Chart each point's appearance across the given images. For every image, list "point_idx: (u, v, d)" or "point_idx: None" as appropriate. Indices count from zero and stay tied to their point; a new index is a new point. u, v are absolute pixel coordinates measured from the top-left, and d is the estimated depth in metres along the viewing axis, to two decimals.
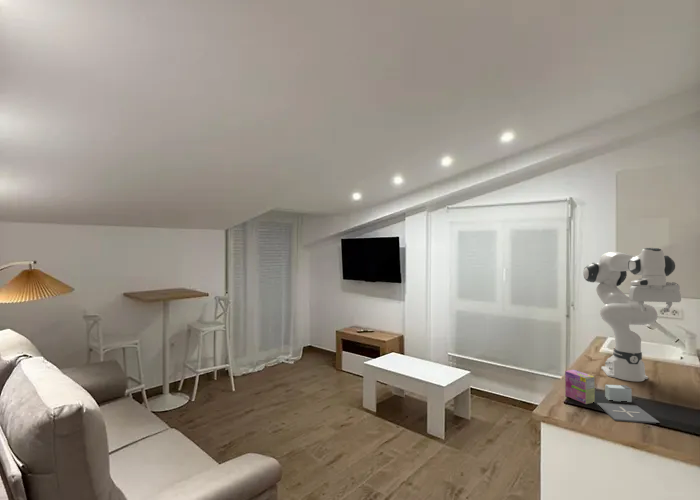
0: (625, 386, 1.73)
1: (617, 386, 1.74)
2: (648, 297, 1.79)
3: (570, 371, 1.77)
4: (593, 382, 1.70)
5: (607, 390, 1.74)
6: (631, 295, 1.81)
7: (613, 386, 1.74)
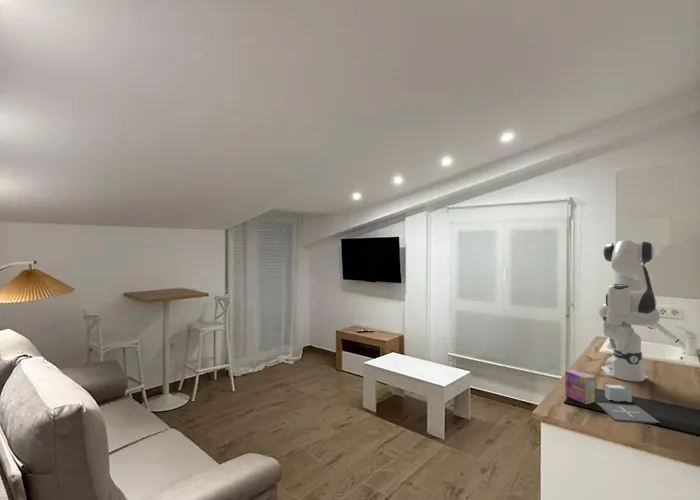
0: (625, 386, 1.73)
1: (617, 386, 1.74)
2: (610, 334, 1.77)
3: (570, 371, 1.77)
4: (593, 382, 1.70)
5: (607, 390, 1.74)
6: None
7: (613, 386, 1.74)
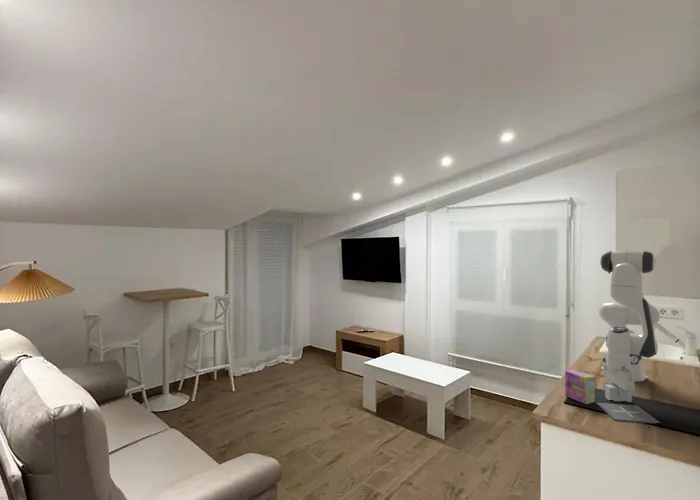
0: None
1: (617, 386, 1.74)
2: (610, 376, 1.77)
3: (570, 371, 1.77)
4: (593, 382, 1.70)
5: (607, 389, 1.74)
6: None
7: (613, 386, 1.74)
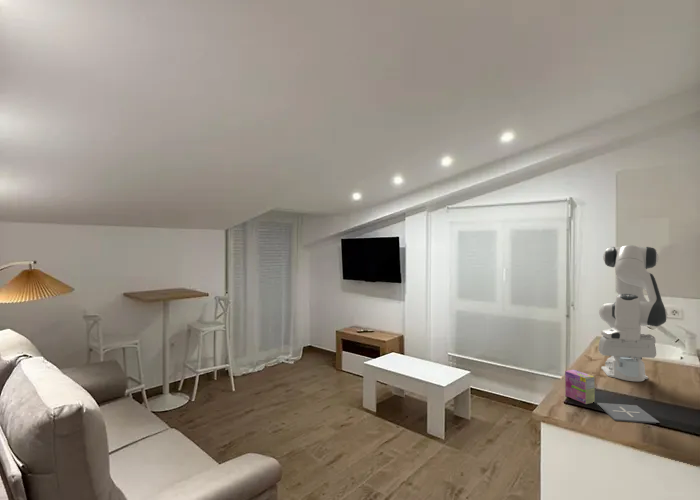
0: (621, 356, 1.62)
1: (626, 358, 1.59)
2: (620, 352, 1.58)
3: (570, 371, 1.77)
4: (593, 382, 1.70)
5: (634, 366, 1.55)
6: (601, 348, 1.60)
7: (629, 360, 1.57)
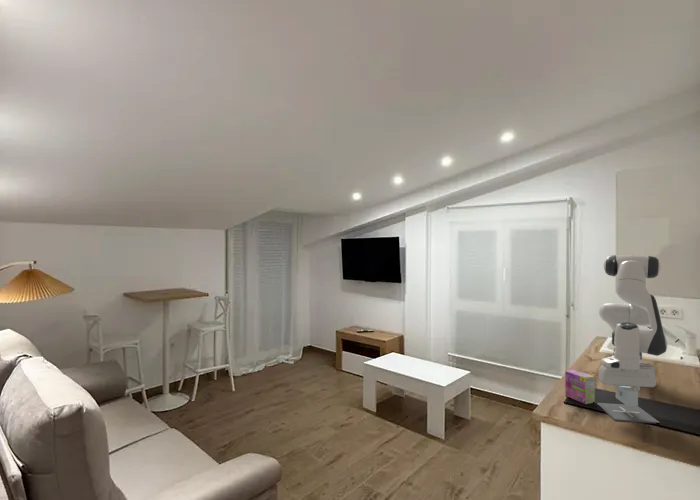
0: None
1: (626, 387, 1.59)
2: (619, 381, 1.58)
3: (570, 371, 1.77)
4: (593, 382, 1.70)
5: (634, 395, 1.55)
6: (600, 377, 1.60)
7: (629, 389, 1.57)
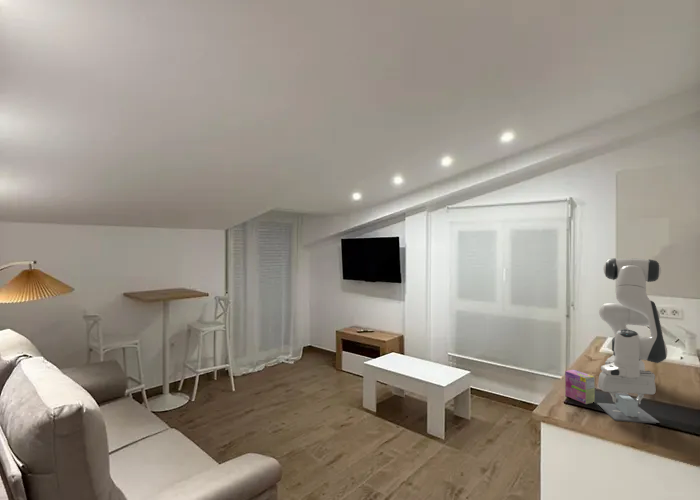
0: (621, 393, 1.63)
1: (626, 397, 1.59)
2: (619, 388, 1.58)
3: (570, 371, 1.77)
4: (593, 382, 1.70)
5: (633, 405, 1.55)
6: (600, 384, 1.61)
7: (629, 399, 1.58)
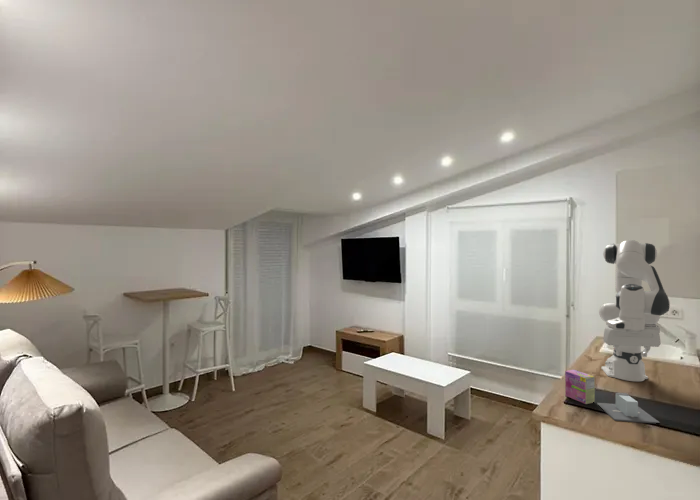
0: (621, 393, 1.63)
1: (626, 397, 1.59)
2: (624, 341, 1.60)
3: (570, 371, 1.77)
4: (593, 382, 1.70)
5: (633, 405, 1.55)
6: (606, 338, 1.63)
7: (629, 399, 1.58)
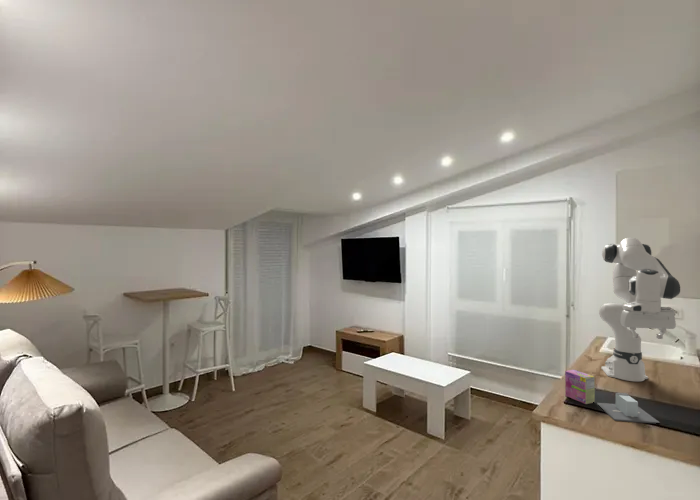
0: (621, 393, 1.63)
1: (626, 397, 1.59)
2: (641, 323, 1.67)
3: (570, 371, 1.77)
4: (593, 382, 1.70)
5: (633, 405, 1.55)
6: (623, 320, 1.70)
7: (629, 399, 1.58)
